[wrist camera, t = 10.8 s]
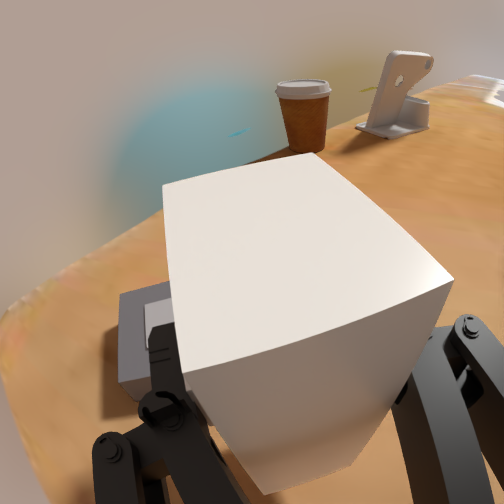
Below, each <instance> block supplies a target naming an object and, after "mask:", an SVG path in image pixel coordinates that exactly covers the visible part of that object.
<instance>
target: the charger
mask: <svg viewBox="0 0 504 504" xmlns="http://www.w3.org/2000/svg"><path fill="white" fill-rule="evenodd" d="M162 187H163V206H164V222H165V235H166V248H167V259H168V269H169V279H170V288H171V297H172V306H173V314H174V321H175V329H176V336H177V343H178V350H179V357H180V363H181V369H182V374H183V375H184V377H185V379H186V381H187V382H188V384H189V386H190V387H191V389H192V391H193V392H194V394H195V396H196V397H197V399H198V401H199V402H200V404H201V405H202V407H203V409H204V410H205V412H206V413H207V415H208V417H209V418H210V420H211V421H212V423H213V424H214V426H215V427H216V429H217V431H218V432H219V434H220V435H221V437H222V438H223V440H224V441H225V443H226V444H227V445H228V447H229V448H230V450H231V451H232V453H233V454H234V456H235V457H236V458H237V460H238V461H239V463H240V464H241V465H242V467H243V468H244V470H245V471H246V472H247V474H248V475H249V476H250V478H251V479H252V480H253V482H254V483H255V484H256V486H257V487H258V488H259V490H260V491H261V492H262V494H263V495H267V494H271V493H275V492H278V491H281V490H285V489H288V488H291V487H294V486H297V485H300V484H303V483H306V482H309V481H312V480H315V479H318V478H320V477H323V476H326V475H328V474H331V473H334V472H336V471H339V470H341V469H343V468H346V467H348V466H351V464H352V463H353V462H354V460H355V459H356V458H357V456H358V455H359V454H360V452H361V451H362V450H363V448H364V447H365V445H366V444H367V443H368V441H369V440H370V438H371V437H372V435H373V434H374V432H375V431H376V430H377V428H378V427H379V425H380V424H381V422H382V420H383V419H384V417H385V416H386V414H387V413H388V411H389V410H390V408H391V406H392V405H393V403H394V401H395V400H396V398H397V396H398V395H399V393H400V391H401V390H402V388H403V386H404V385H405V383H406V381H407V379H408V377H409V376H410V374H411V372H412V370H413V368H414V366H415V365H416V363H417V361H418V359H419V357H420V355H421V353H422V351H423V349H424V347H425V345H426V343H427V341H428V339H429V337H430V335H431V333H432V331H433V329H434V326H435V324H436V322H437V320H438V318H439V315H440V313H441V311H442V308H443V306H444V304H445V301H446V299H447V297H448V294H449V292H450V289H451V287H452V284H453V281H454V278H453V277H452V276H451V275H450V274H449V273H448V272H447V271H446V270H445V269H444V268H443V267H442V266H441V265H440V264H439V263H438V262H437V261H436V260H435V259H434V258H433V257H432V256H431V255H430V254H429V253H428V252H427V251H426V250H425V249H424V248H423V247H422V246H421V245H420V244H419V243H418V242H417V241H416V240H415V239H414V238H413V237H412V236H411V235H409V234H408V233H407V232H406V231H405V230H404V229H403V228H402V227H401V226H400V225H399V224H398V223H397V222H395V221H394V220H393V219H392V218H391V217H390V216H389V215H388V214H387V213H385V212H384V211H383V210H382V209H381V208H380V207H379V206H377V205H376V204H375V203H374V202H373V201H372V200H371V199H369V198H368V197H367V196H366V195H365V194H364V193H362V192H361V191H360V190H359V189H358V188H356V187H355V186H354V185H353V184H352V183H350V182H349V181H348V180H347V179H345V178H344V177H343V176H342V175H341V174H339V173H338V172H337V171H336V170H334V169H333V168H332V167H330V166H329V165H328V164H327V163H325V162H324V161H323V160H322V159H320V158H319V157H318V156H316V155H315V154H314V153H306V154H300V155H295V156H289V157H284V158H279V159H273V160H268V161H263V162H258V163H254V164H249V165H244V166H239V167H235V168H231V169H226V170H222V171H217V172H213V173H209V174H205V175H200V176H196V177H192V178H189V179H185V180H181V181H177V182H173V183H169V184H165V185H163V186H162Z"/></svg>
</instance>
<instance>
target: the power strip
mask: <svg viewBox="0 0 504 504" xmlns="http://www.w3.org/2000/svg"><path fill="white" fill-rule="evenodd" d="M171 322H175V321H174V314H173V306H172V297H171V288H170V281H167V282H164V283H160V284H156V285H152V286H149V287H145V288H141V289H137V290H134V291H130V292H126V293H122V294H120V301H119V324H118V383H119V384H120V385H121V386H122V387H123V389H124V390H125V391H126V392H127V393H128V394H129V395H130V396H131V397H132V398H133V399H134V400H135V401H141V399H142V398H143V397H144V395H145V394H146V393H148V392H149V391H151V390H152V387H151V376H150V363H149V352H148V338H149V335H150V332H151V330H152V327H155V326H159V325H163V324H167V323H171Z"/></svg>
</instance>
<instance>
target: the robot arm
mask: <svg viewBox="0 0 504 504" xmlns="http://www.w3.org/2000/svg"><path fill="white" fill-rule="evenodd" d="M148 352H149V363H150V376H151V387H152V390H151V391H149V392H148V393H146V394H145V395H144V397H143V398H142V399H141V401H140V404H139V407H138V414H139V418H140V419H141V420H142V421H143V422H144V423H143V424H141V425H140V426H138V427H136V428H134V429H132V430H130V431H129V432H127V433H125V434H123V435H122V434H120V433H118V432H107V433H104V434H102V435H101V436H100V437H98V438H97V439H96V441H95V443H94V445H93V449H92V464H93V480H94V492H95V502H96V504H170V499H169V494H168V489H167V483H166V478H165V477H166V476H168V475H171V477H172V480H173V482H174V484H175V486H176V488H177V490H178V492H179V494H180V496H181V498H182V500H183V502H184V504H251V503H250V502H249V500H248V498H247V497H246V495H245V494H244V492H243V490H242V489H241V487H240V485H239V484H238V482H237V481H236V479H235V477H234V476H233V474H232V472H231V470H230V469H229V467H228V465H227V464H226V462H225V460H224V458H223V457H222V455H221V453H220V451H219V449H218V448H217V446H216V444H215V442H214V440H213V439H212V437H211V436H210V433H209V429H208V425H209V426H214V424H213V423H212V421H211V420H210V418H209V417H208V415H207V413H206V412H205V410H204V409H203V407H202V405H201V404H200V402H199V401H198V399H197V397H196V396H195V394H194V392H193V391H192V389H191V387H190V386H189V384H188V382H187V381H186V379H185V377H184V375H183V374H182V369H181V363H180V357H179V350H178V343H177V336H176V329H175V322H171V323H167V324H163V325H159V326H155V327H152V330H151V332H150V335H149V338H148ZM391 410H392V414H393V417H394V421H395V425H396V429H397V433H398V436H399V440H400V444H401V448H402V453H403V457H404V461H405V465H406V470H407V474H408V479H409V483H410V488H411V493H412V498H413V503H414V504H495V503H494V499H493V494H492V490H491V486H490V482H489V478H488V474H487V470H486V467H485V463H484V459H483V456H482V453H483V455H484V457H485V458H486V460H487V462H488V464H489V465H490V467H491V469H492V471H493V472H494V474H495V476H496V478H497V480H498V481H499V483H500V485H501V487H502V489H503V491H504V347H503V346H502V344H501V343H500V342H499V341H498V340H497V338H496V337H495V336H494V335H493V333H492V332H491V331H490V330H489V329H488V327H487V326H486V325H485V324H484V323H483V321H481V320H480V319H479V318H478V317H476V316H474V315H469V314H465V315H462V316H460V317H459V318H458V319H457V320H456V322H455V324H454V325H452V326H444V327H434V329H433V331H432V333H431V335H430V337H429V339H428V341H427V343H426V345H425V347H424V349H423V351H422V353H421V355H420V357H419V359H418V361H417V363H416V365H415V366H414V368H413V370H412V372H411V374H410V376H409V377H408V379H407V381H406V383H405V385H404V386H403V388H402V390H401V391H400V393H399V395H398V396H397V398H396V400H395V401H394V403H393V405H392V406H391ZM207 423H208V424H207ZM481 452H482V453H481Z"/></svg>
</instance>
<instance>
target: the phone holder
mask: <svg viewBox="0 0 504 504" xmlns="http://www.w3.org/2000/svg"><path fill="white" fill-rule="evenodd" d="M433 62H434V59H433V57H432V56H430V55H428V54H427V53H419V52H408V51H392V52H391V53H390V54H389V55H388V56H387V59H386V62H385V65H384V68H383V72H382V75H381V78H380V82H379V85H378V88H377V91H376V95H375V98H374V101H373V104H372V107H371V110H370V113H369V116H368V120H367V122H363V123H359V124H356V128H357V129H359V130H362V131H365V132H368V133H371V134H374V135H377V136H380V137H383V138H387V137H388V139H396V138H399V137H402V136H406V135H409V134H413V133H416V132H420V131H423V130H427V129H429V125H428V121H429V106H430V103H429V102H427V101H425V100H421V99H418V98H414V97H410V96H406V95H407V92H408V90H409V89H410V88H411V87H412V86H414V85H415V84H416V83H417V82H418V81H419V80H421V79H422V78H423V77H424V76H426V75H427V74H428V73H429V72H430V70H431V68H432V66H433ZM425 63H426V64H425ZM400 75H402V76H403V81H402V82H400V83H399V85H398V86H395V81H396V79H397V78H398V77H399V76H400Z"/></svg>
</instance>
